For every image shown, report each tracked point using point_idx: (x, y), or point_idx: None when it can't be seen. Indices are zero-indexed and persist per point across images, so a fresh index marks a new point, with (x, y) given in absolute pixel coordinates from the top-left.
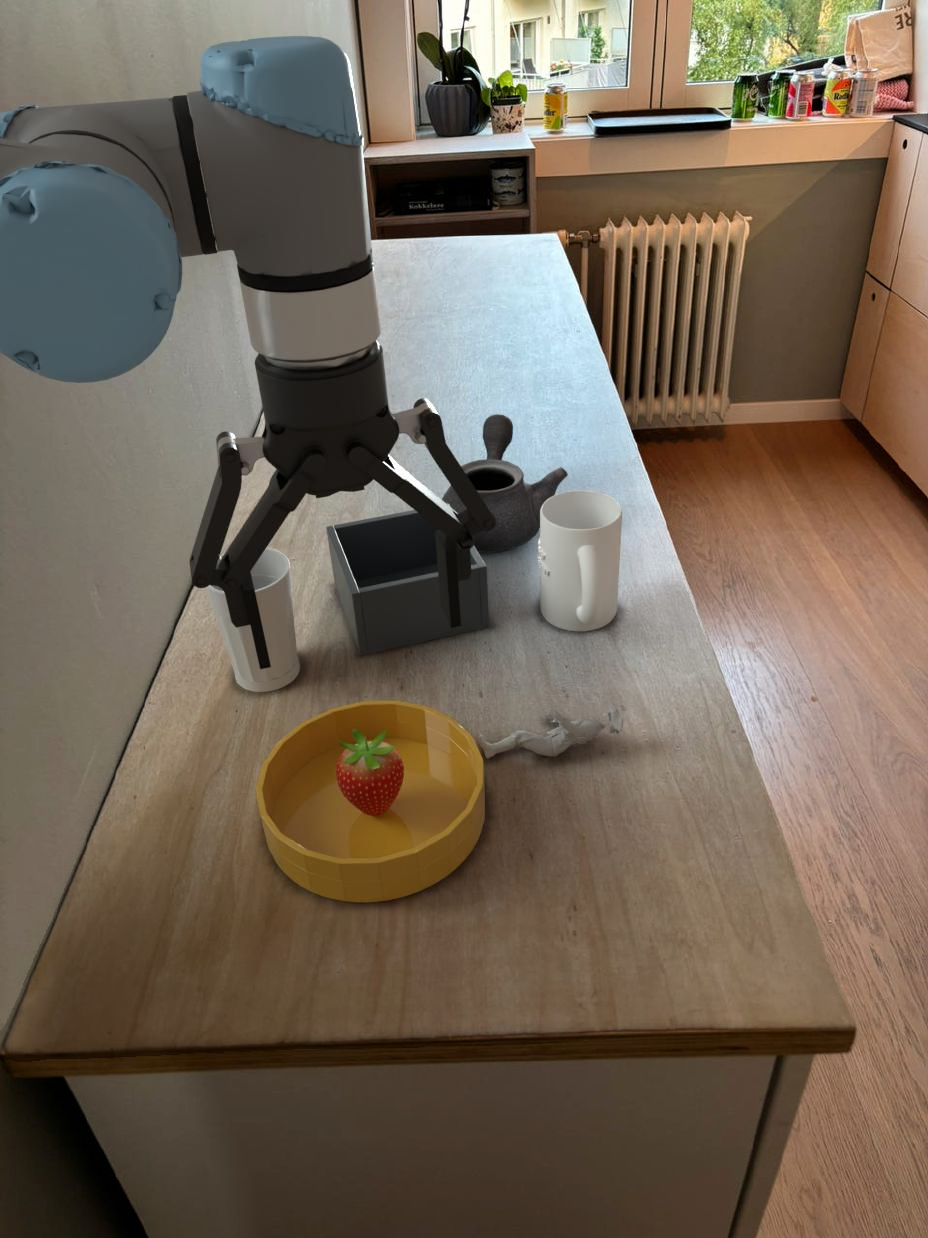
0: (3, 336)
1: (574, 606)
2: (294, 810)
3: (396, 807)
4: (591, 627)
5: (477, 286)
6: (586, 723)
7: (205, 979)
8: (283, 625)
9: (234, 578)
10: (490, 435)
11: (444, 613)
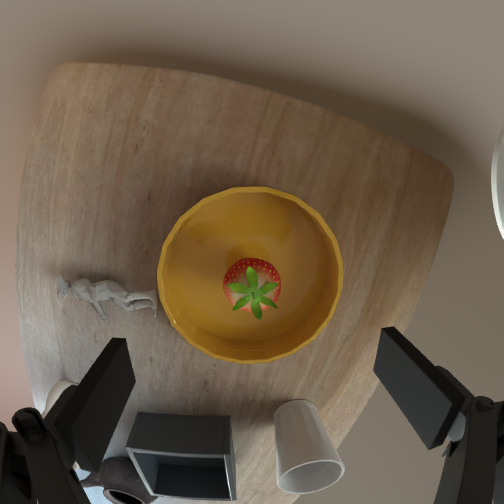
0: None
1: None
2: (307, 288)
3: None
4: (74, 384)
5: None
6: (77, 287)
7: (378, 169)
8: (287, 438)
9: (483, 411)
10: None
11: (131, 367)
